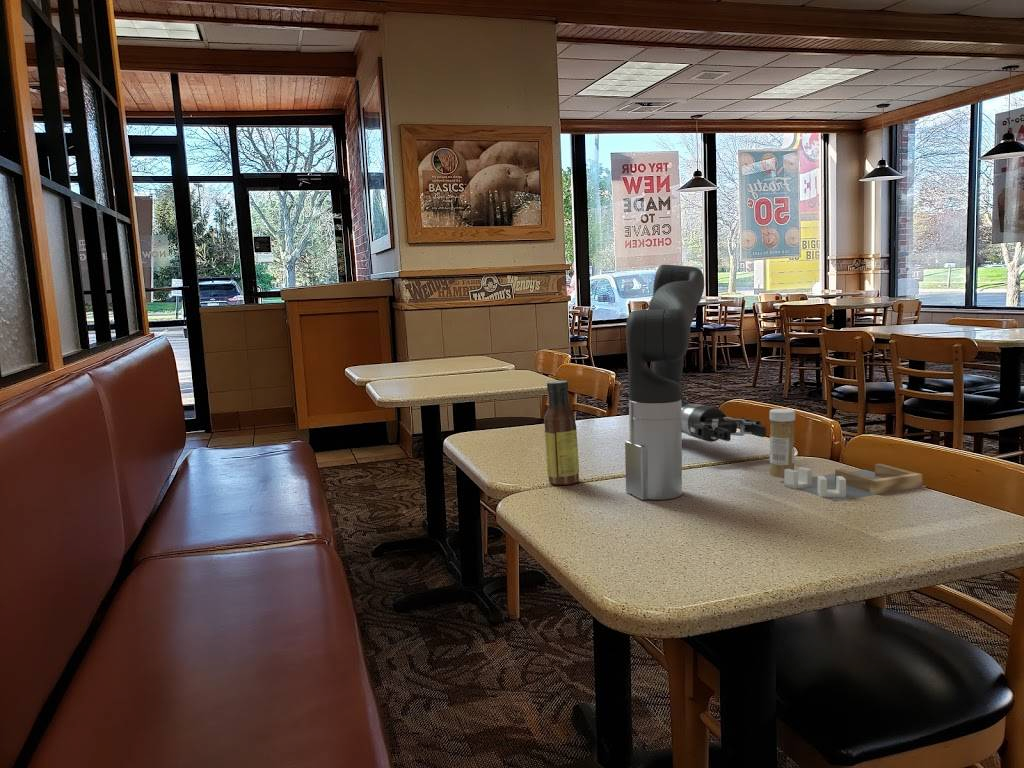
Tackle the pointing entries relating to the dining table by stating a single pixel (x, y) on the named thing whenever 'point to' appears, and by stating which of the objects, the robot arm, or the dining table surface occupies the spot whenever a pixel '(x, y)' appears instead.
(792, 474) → the board
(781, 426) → the sprinkles bottle
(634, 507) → the dining table surface
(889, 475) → the end holder
